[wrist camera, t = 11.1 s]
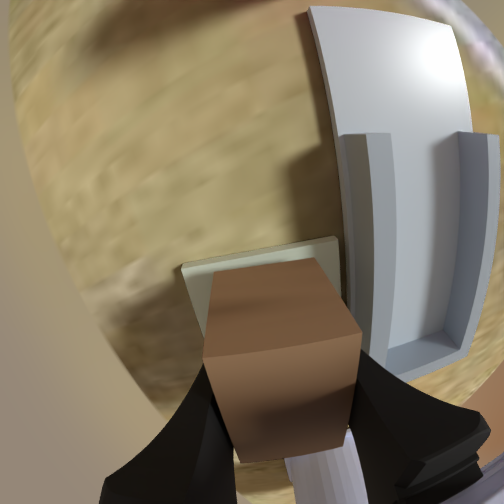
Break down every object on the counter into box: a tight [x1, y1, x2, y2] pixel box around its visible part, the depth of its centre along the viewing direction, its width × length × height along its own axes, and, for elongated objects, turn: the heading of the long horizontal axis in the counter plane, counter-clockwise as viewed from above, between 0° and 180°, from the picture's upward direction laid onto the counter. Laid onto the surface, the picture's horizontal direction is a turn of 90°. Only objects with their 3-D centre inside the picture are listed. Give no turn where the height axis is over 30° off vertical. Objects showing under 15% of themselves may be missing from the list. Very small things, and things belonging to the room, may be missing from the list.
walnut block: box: [202, 257, 362, 463], centre depth 10 cm, size 6×4×5 cm, turn 7°
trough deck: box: [307, 6, 500, 383], centre depth 11 cm, size 19×8×3 cm, turn 10°
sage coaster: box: [181, 236, 341, 338], centre depth 14 cm, size 7×7×1 cm
